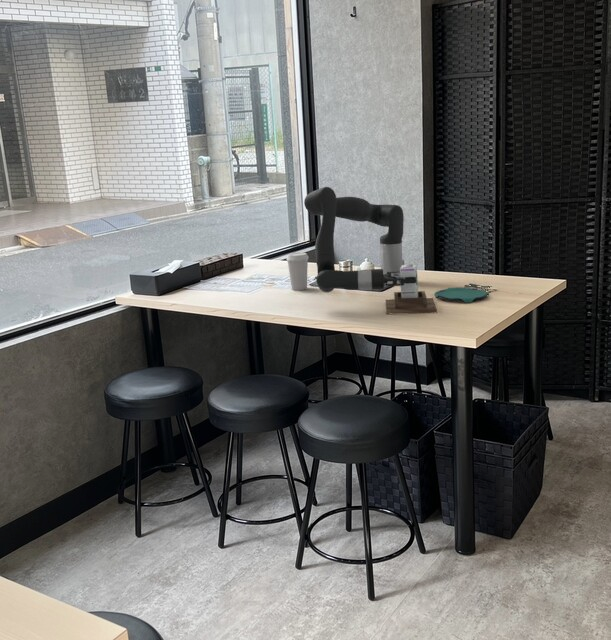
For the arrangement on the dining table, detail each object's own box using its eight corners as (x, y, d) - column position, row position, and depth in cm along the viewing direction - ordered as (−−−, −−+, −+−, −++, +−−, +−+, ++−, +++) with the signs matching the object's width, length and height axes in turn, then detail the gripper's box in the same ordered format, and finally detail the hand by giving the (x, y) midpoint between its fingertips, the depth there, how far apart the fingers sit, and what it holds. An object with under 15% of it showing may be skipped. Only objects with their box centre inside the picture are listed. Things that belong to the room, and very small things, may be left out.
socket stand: (385, 302, 296) (385, 290, 295) (433, 300, 294) (432, 288, 293) (386, 314, 279) (386, 301, 278) (436, 312, 277) (436, 299, 276)
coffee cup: (285, 291, 327) (283, 256, 323) (291, 286, 336) (289, 252, 332) (307, 291, 324) (305, 255, 321) (312, 286, 333) (310, 251, 330)
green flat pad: (425, 299, 297) (425, 294, 297) (466, 286, 318) (466, 280, 318) (470, 306, 284) (470, 300, 284) (510, 292, 305) (510, 286, 305)
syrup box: (417, 306, 283) (416, 267, 279) (400, 306, 284) (399, 267, 281) (418, 302, 288) (417, 264, 285) (402, 302, 290) (401, 264, 286)
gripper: (370, 273, 277) (416, 271, 276) (370, 265, 291) (414, 264, 290) (370, 293, 279) (416, 292, 278) (371, 285, 293) (414, 283, 292)
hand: (415, 277), depth 284 cm, fingers open, 7 cm apart
